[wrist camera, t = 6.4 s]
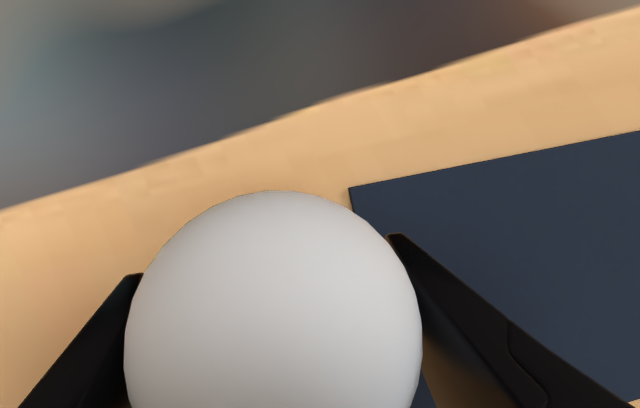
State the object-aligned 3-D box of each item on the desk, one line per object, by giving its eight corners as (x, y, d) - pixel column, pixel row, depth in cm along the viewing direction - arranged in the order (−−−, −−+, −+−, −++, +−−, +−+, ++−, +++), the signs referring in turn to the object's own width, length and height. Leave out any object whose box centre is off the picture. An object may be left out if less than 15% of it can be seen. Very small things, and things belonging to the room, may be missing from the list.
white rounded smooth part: (289, 184, 17) (308, 86, 6) (377, 291, 17) (564, 397, 6) (175, 275, 16) (-56, 365, 5) (268, 388, 16) (245, 727, 5)
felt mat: (406, 462, 16) (409, 467, 16) (348, 188, 17) (349, 187, 17) (784, 352, 18) (792, 354, 18) (719, 115, 19) (725, 113, 19)
